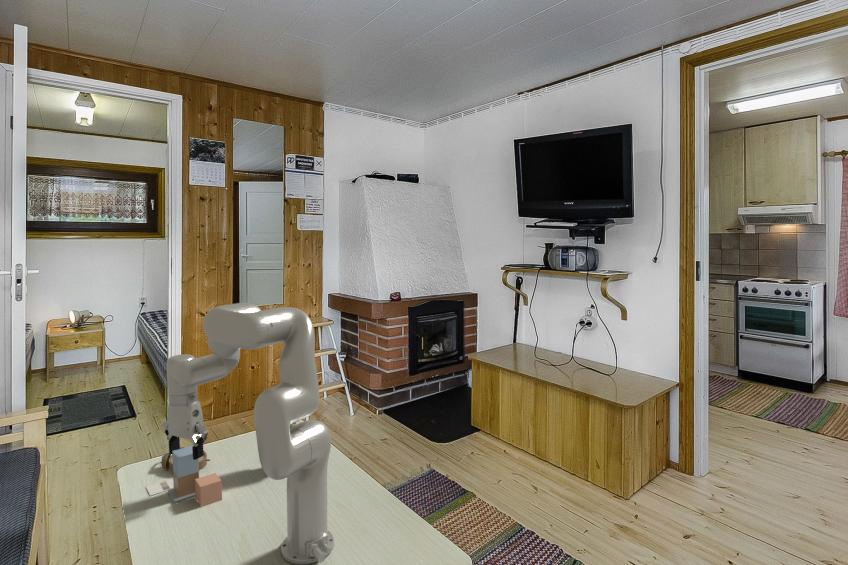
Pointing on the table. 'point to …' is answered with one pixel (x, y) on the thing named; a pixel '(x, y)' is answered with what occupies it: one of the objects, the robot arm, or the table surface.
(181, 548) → the table surface
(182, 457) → the blue block
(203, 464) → the alarm clock
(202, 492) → the terracotta block
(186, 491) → the base
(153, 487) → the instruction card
